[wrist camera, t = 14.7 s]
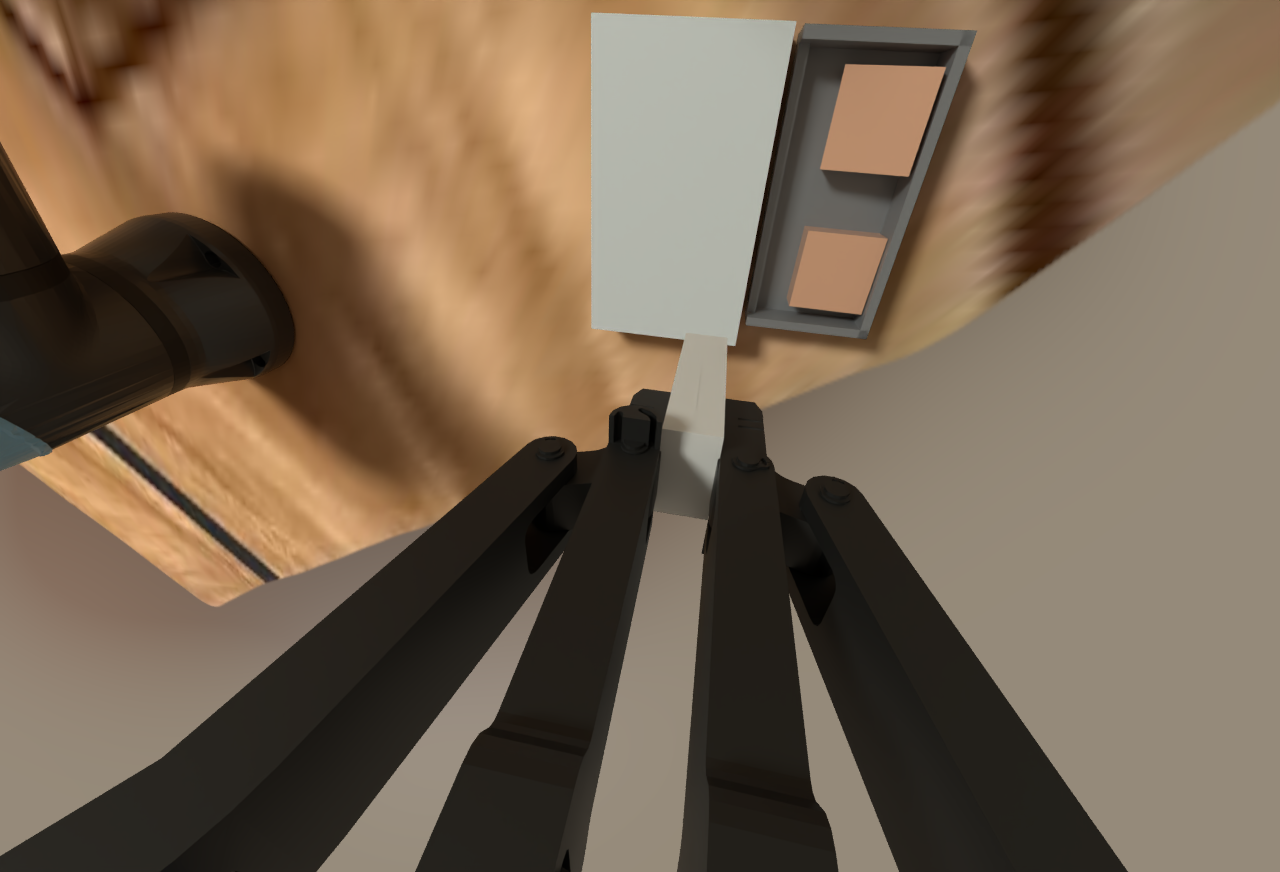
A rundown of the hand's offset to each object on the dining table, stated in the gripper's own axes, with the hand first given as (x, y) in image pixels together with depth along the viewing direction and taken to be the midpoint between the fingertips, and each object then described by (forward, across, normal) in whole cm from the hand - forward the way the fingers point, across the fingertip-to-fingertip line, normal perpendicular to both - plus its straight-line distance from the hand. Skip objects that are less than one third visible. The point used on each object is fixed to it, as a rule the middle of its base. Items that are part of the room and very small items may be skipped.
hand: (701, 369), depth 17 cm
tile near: (+18, +8, +8) cm, 21 cm away
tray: (+20, +7, +4) cm, 22 cm away
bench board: (+20, -3, +4) cm, 21 cm away
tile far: (+18, +8, 0) cm, 20 cm away
